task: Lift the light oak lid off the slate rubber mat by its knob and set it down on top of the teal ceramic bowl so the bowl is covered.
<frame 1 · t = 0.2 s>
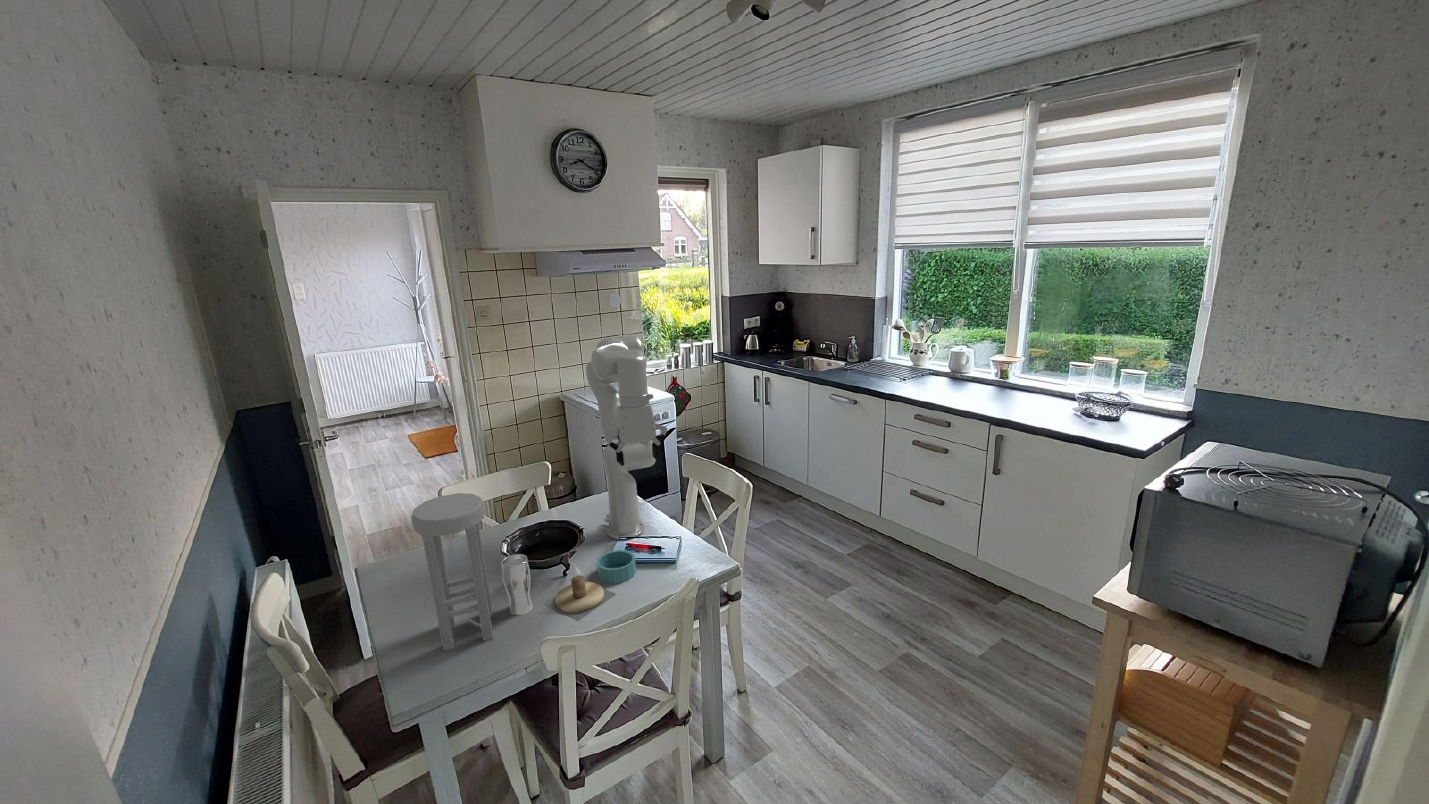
hand: (638, 461, 159), 37 cm above the table, tool pointing down, fingers open, 9 cm apart
lid: (580, 598, 160), point 1 cm above the table, touching mat
mat: (580, 600, 160), on the table
stool: (469, 631, 149), on the table
bowl: (617, 574, 172), on the table
beer glass: (521, 610, 157), on the table
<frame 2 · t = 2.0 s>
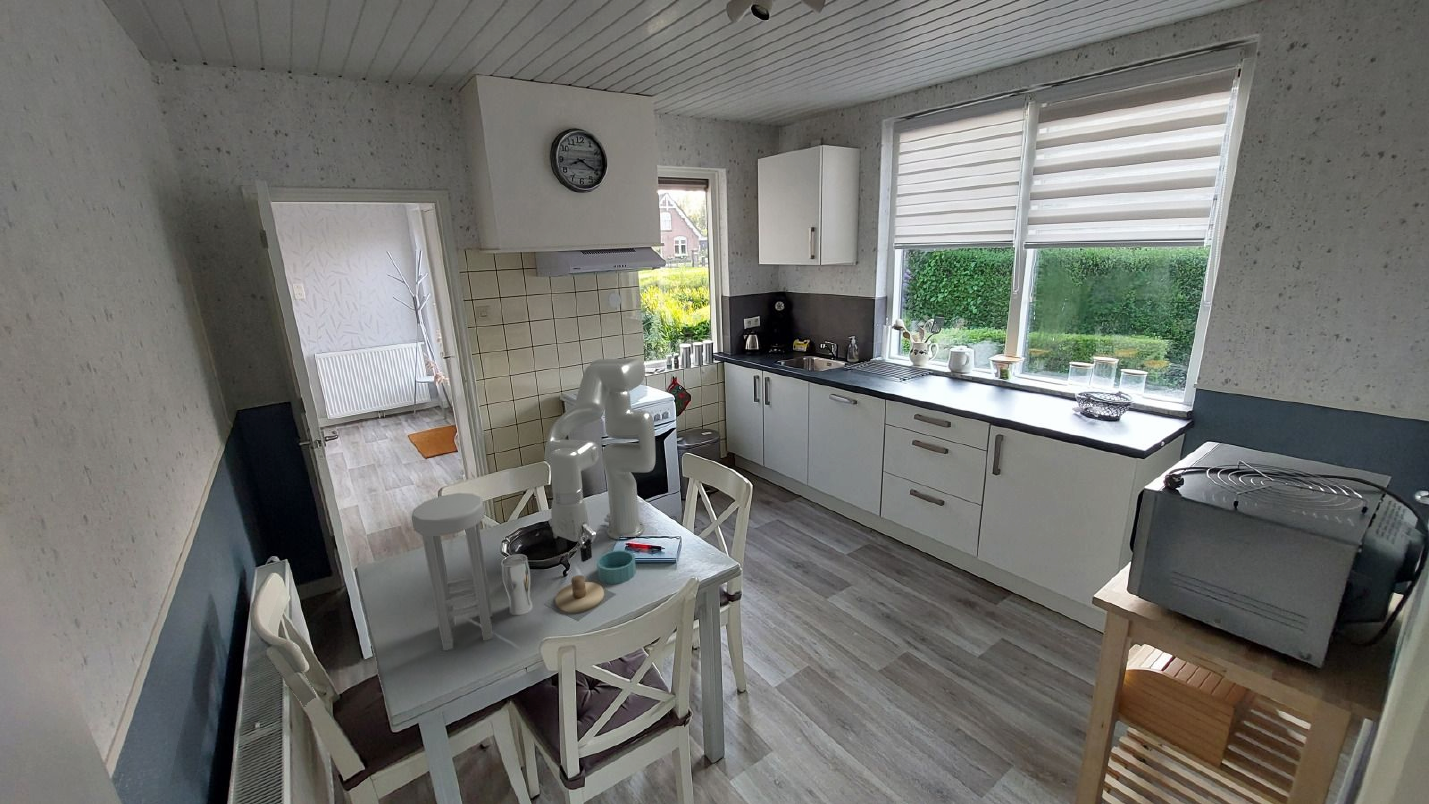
hand: (574, 554, 156), 14 cm above the table, tool pointing down, fingers open, 9 cm apart
nothing on the table moved.
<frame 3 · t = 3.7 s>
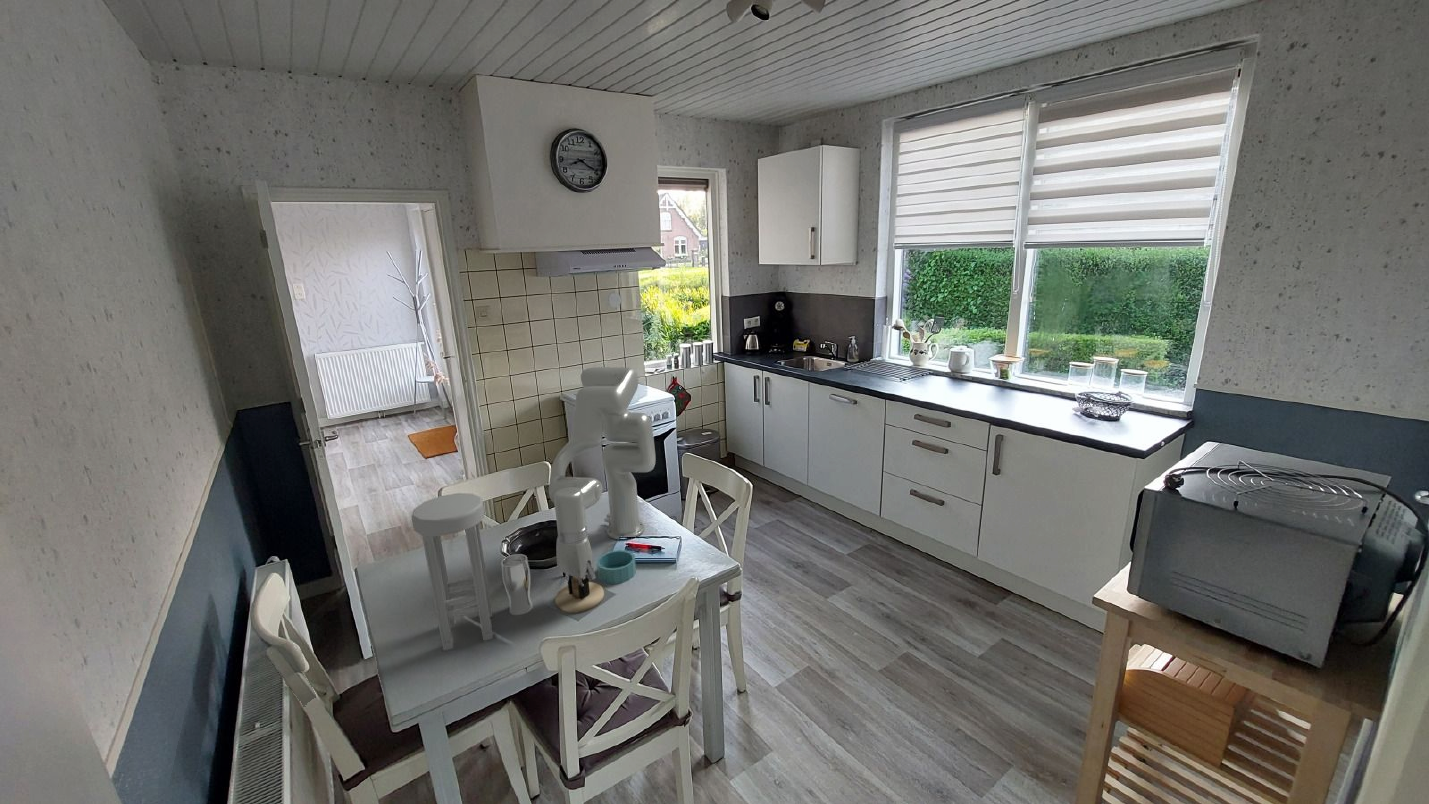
hand: (579, 593, 159), 2 cm above the table, tool pointing down, fingers closed on lid, 3 cm apart
lid: (580, 598, 160), point 1 cm above the table, touching gripper, mat
everything else where it was.
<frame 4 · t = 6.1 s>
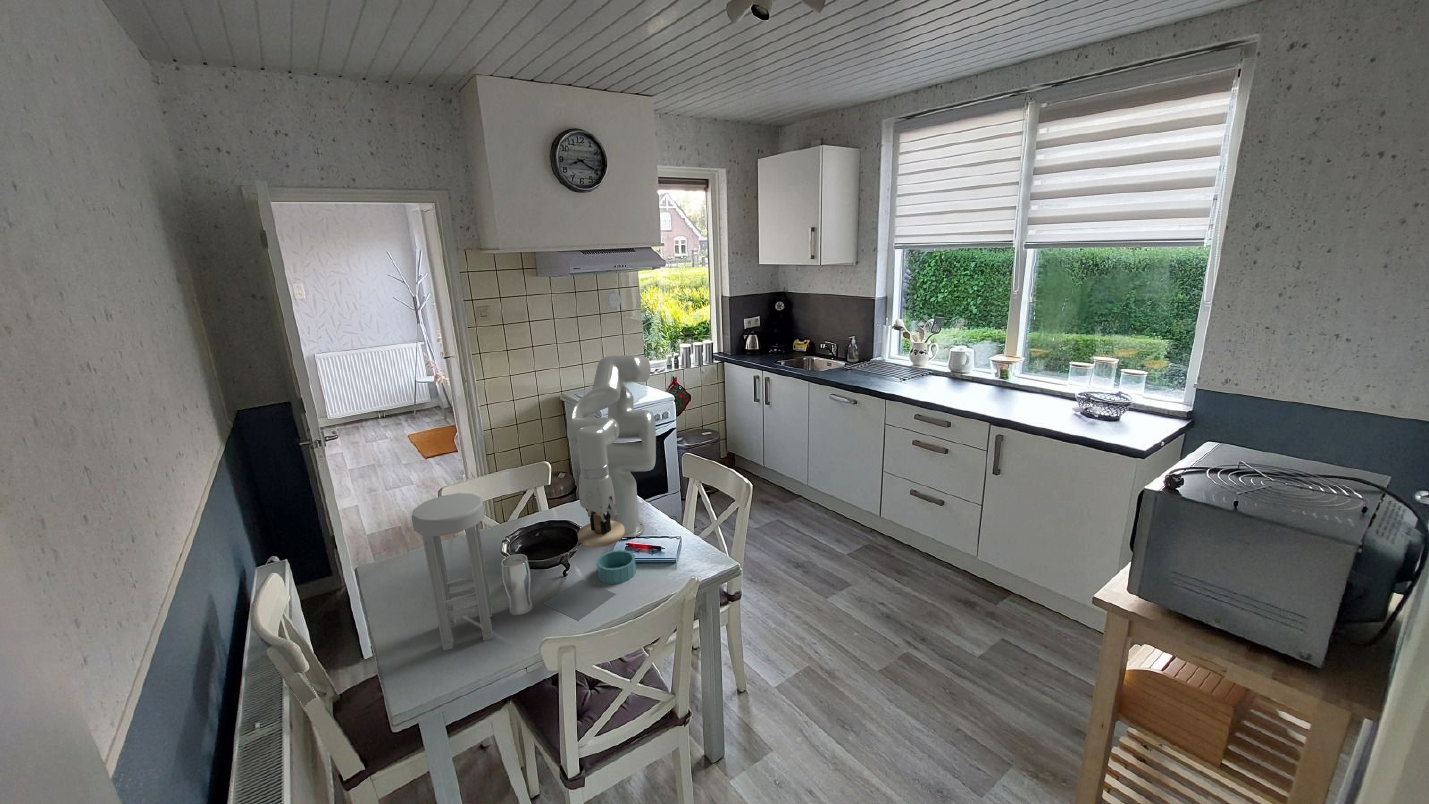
hand: (601, 529, 164), 17 cm above the table, tool pointing down, fingers closed on lid, 3 cm apart
lid: (601, 535, 165), point 15 cm above the table, touching gripper
everything else where it was.
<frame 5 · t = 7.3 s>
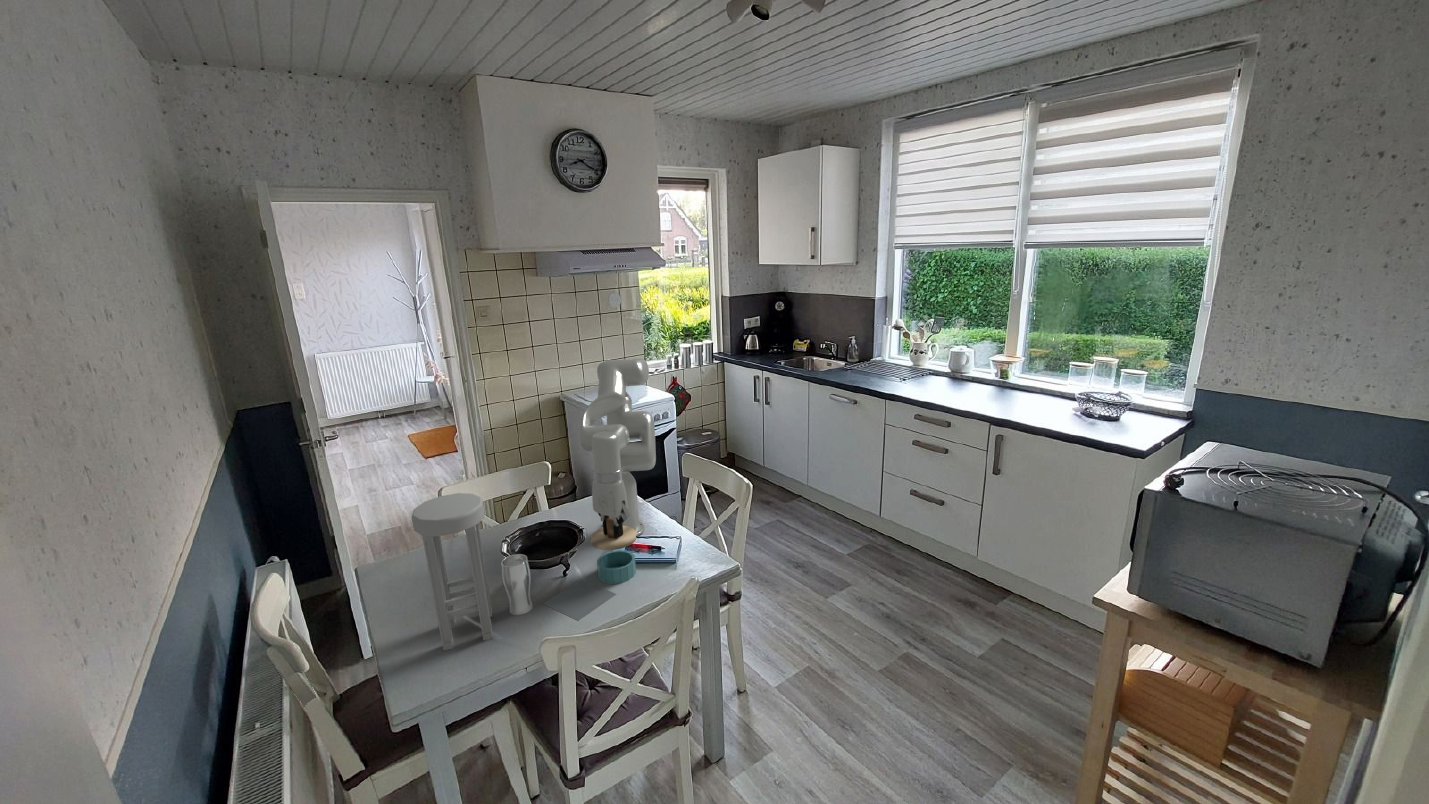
hand: (613, 534, 168), 13 cm above the table, tool pointing down, fingers closed on lid, 3 cm apart
lid: (614, 539, 168), point 12 cm above the table, touching gripper
everything else where it was.
when the fingers open (8 cm above the table, at t = 8.4 s): lid drops 2 cm, resting on bowl.
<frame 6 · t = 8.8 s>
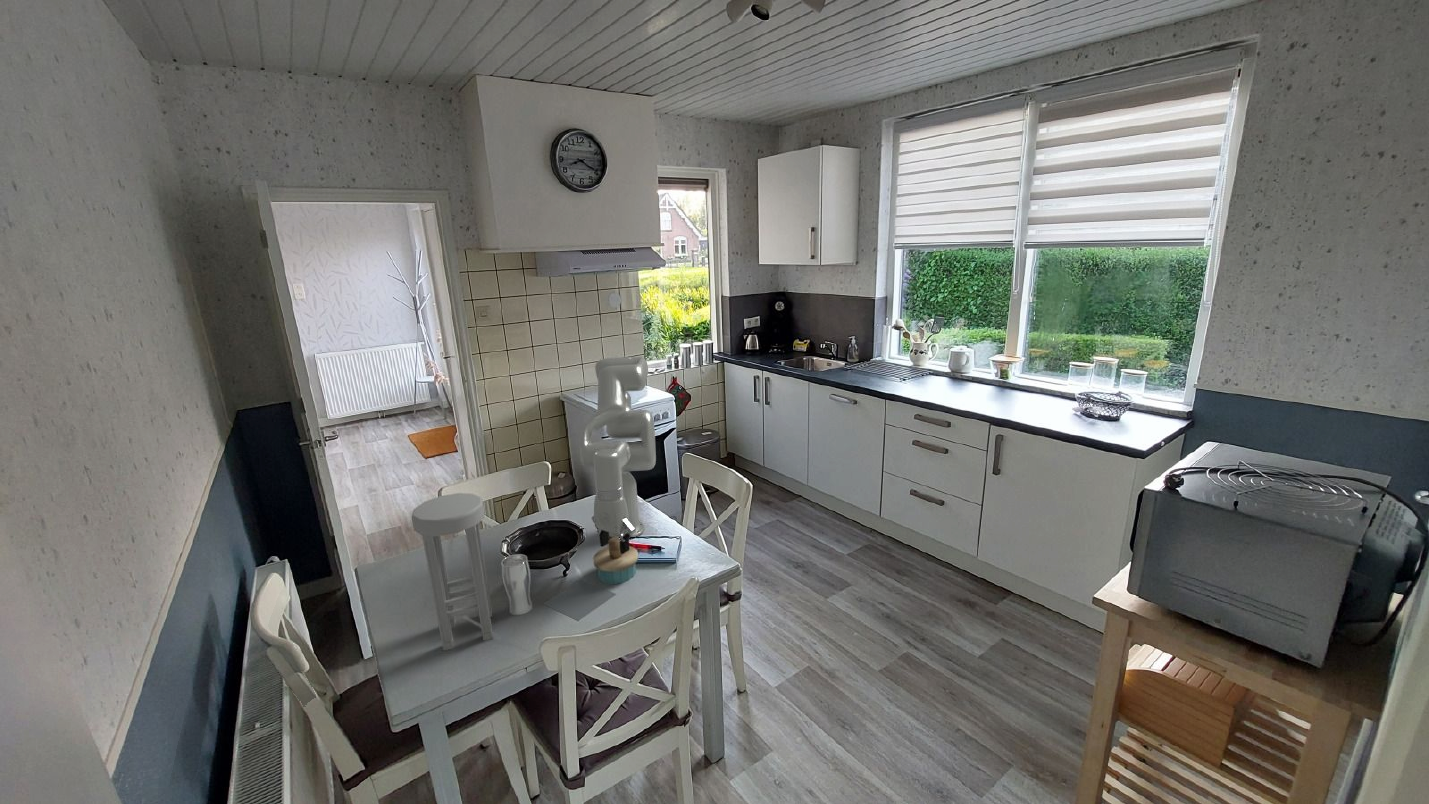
hand: (614, 547, 170), 9 cm above the table, tool pointing down, fingers open, 7 cm apart
lid: (616, 559, 171), point 5 cm above the table, touching bowl
everything else where it was.
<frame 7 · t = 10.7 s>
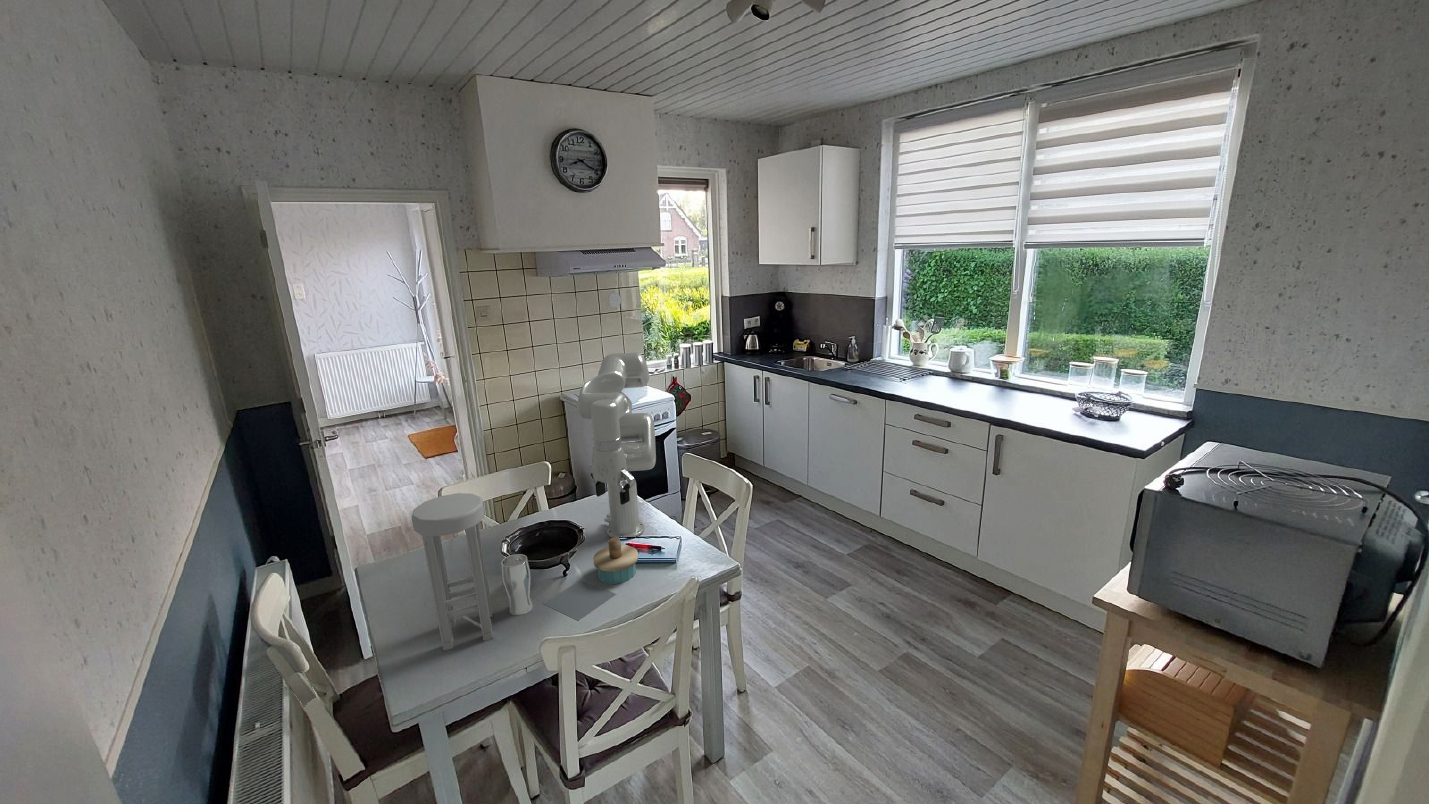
hand: (613, 498, 168), 23 cm above the table, tool pointing down, fingers open, 9 cm apart
nothing on the table moved.
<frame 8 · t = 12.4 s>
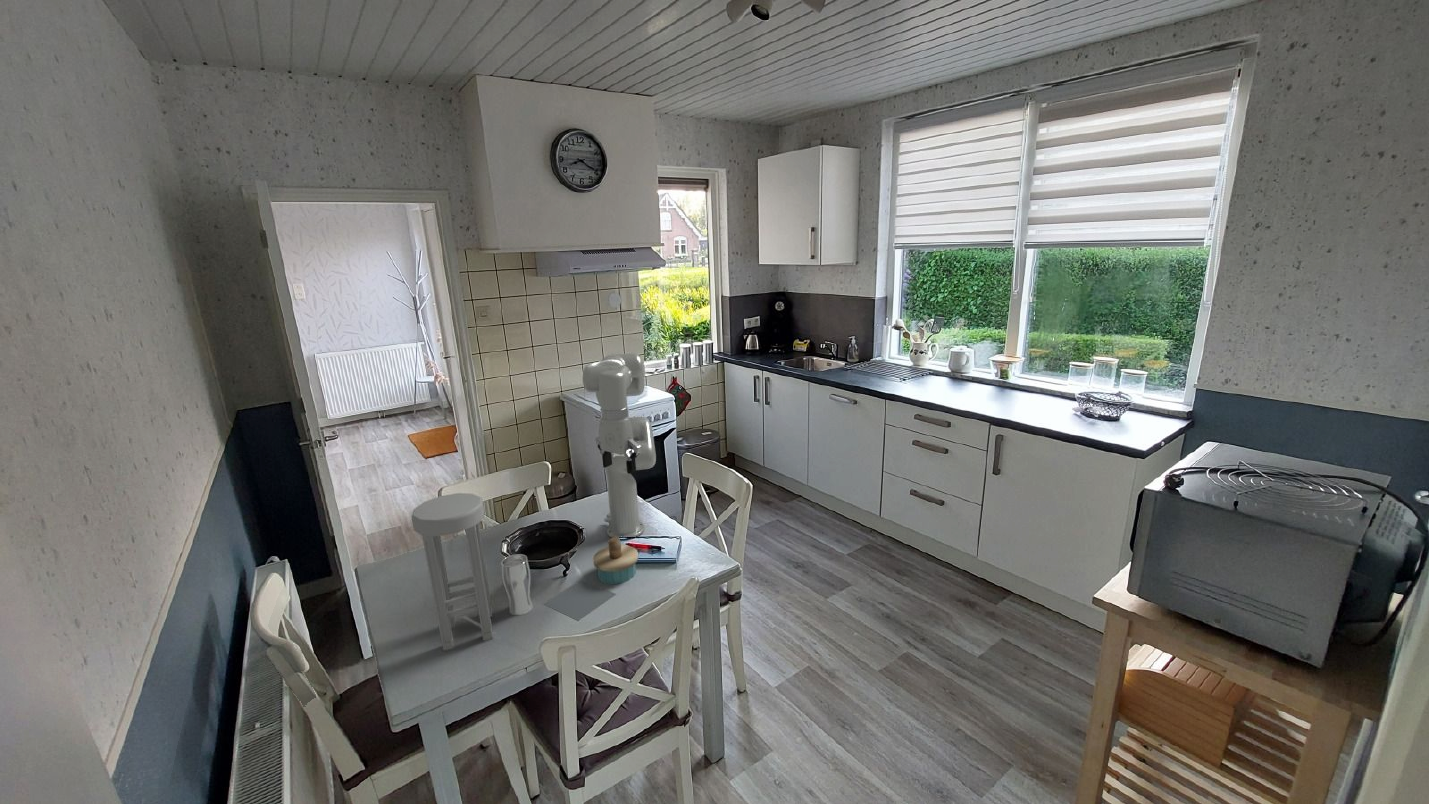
hand: (619, 469, 172), 30 cm above the table, tool pointing down, fingers open, 9 cm apart
nothing on the table moved.
at the end: lid 0.1 cm off-centre on the bowl, point 5.0 cm above the bowl's base; lid tilted 0°; the gripper is holding nothing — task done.
